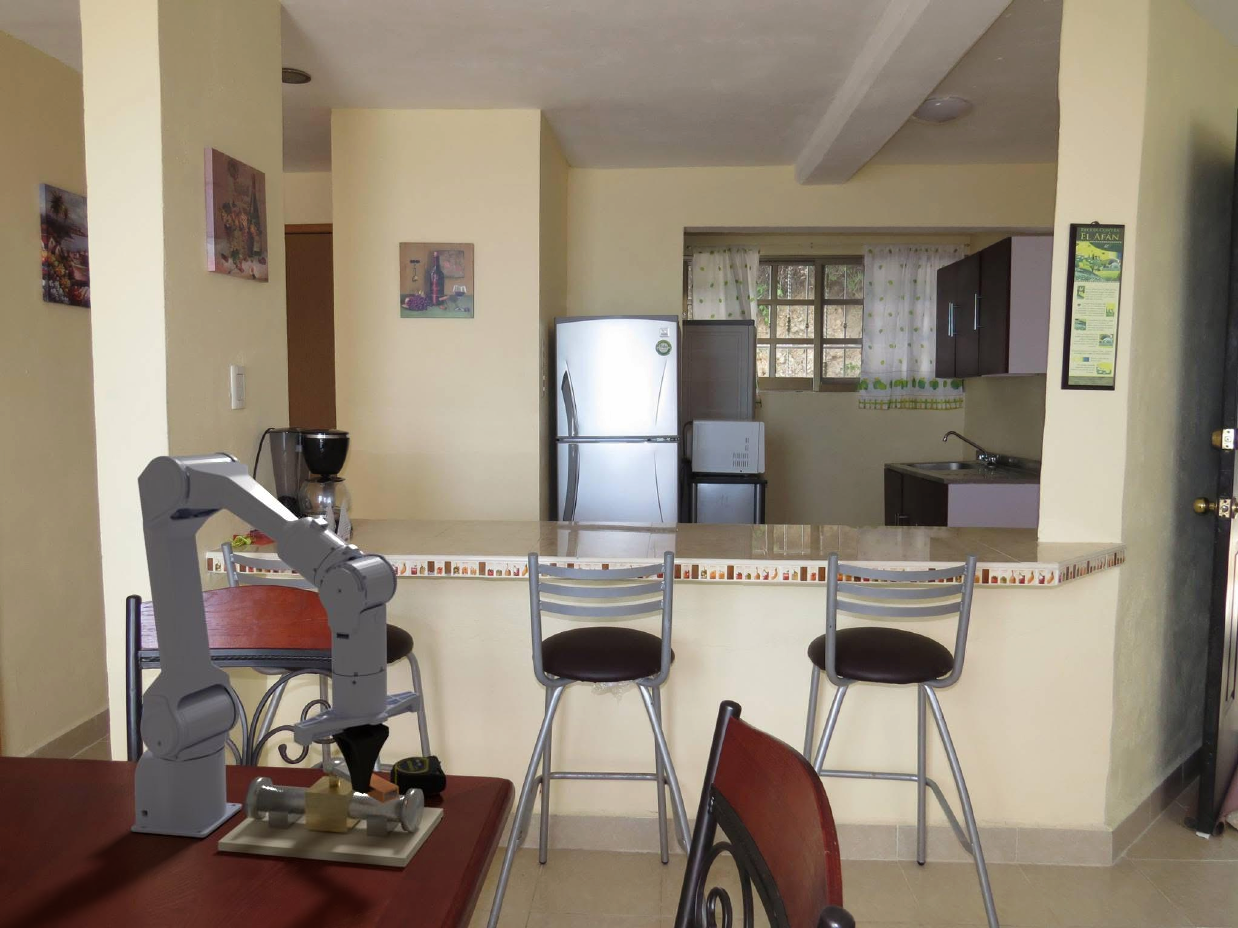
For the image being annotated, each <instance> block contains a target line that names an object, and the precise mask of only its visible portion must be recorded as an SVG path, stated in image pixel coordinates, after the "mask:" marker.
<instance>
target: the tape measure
mask: <svg viewBox="0 0 1238 928" xmlns="http://www.w3.org/2000/svg"><path fill="white" fill-rule="evenodd" d="M441 763H442V760H441V761H440V760H439V758H438V756H437V755H428V756H410V757H406V758H402V759H400V760H397V761H396V762H395V763H394V764H393V766H392V768H391V769H390V775H389V776H390V777H389V782H391V783H393V784H395V785H397V786H399V795H406V793H407V791H408V790H409V789H411V788H412V789H421V790H422V792H423V795H424V798H425V797H428V796H432V795H436V794H439V793H442V792H444V791H445V790H446V788H447V777H446V774H445V772H444V770H443V769H442V765H441Z"/></svg>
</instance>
